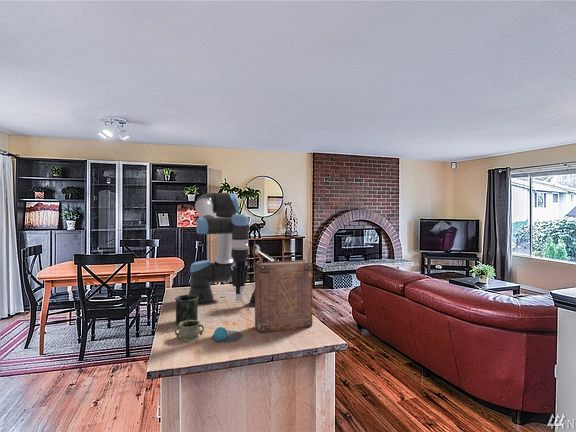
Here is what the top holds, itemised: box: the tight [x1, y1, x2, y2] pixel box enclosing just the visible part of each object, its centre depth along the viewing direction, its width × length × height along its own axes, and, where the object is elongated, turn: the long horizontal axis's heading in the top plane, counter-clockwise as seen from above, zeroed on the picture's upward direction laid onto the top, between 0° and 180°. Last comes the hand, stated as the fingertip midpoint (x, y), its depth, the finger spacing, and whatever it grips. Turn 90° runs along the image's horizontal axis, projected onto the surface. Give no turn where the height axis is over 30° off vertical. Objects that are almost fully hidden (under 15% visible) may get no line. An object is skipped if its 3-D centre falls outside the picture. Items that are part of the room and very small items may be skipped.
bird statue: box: [249, 243, 276, 307], centre depth 197 cm, size 17×13×35 cm
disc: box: [211, 330, 244, 343], centre depth 145 cm, size 13×13×1 cm
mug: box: [174, 294, 199, 326], centre depth 161 cm, size 11×15×12 cm
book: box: [254, 259, 314, 334], centre depth 158 cm, size 25×9×30 cm, turn 112°
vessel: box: [174, 320, 205, 342], centre depth 143 cm, size 12×9×6 cm
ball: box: [213, 326, 228, 342], centre depth 140 cm, size 6×6×6 cm
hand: (239, 300), depth 154 cm, fingers closed
